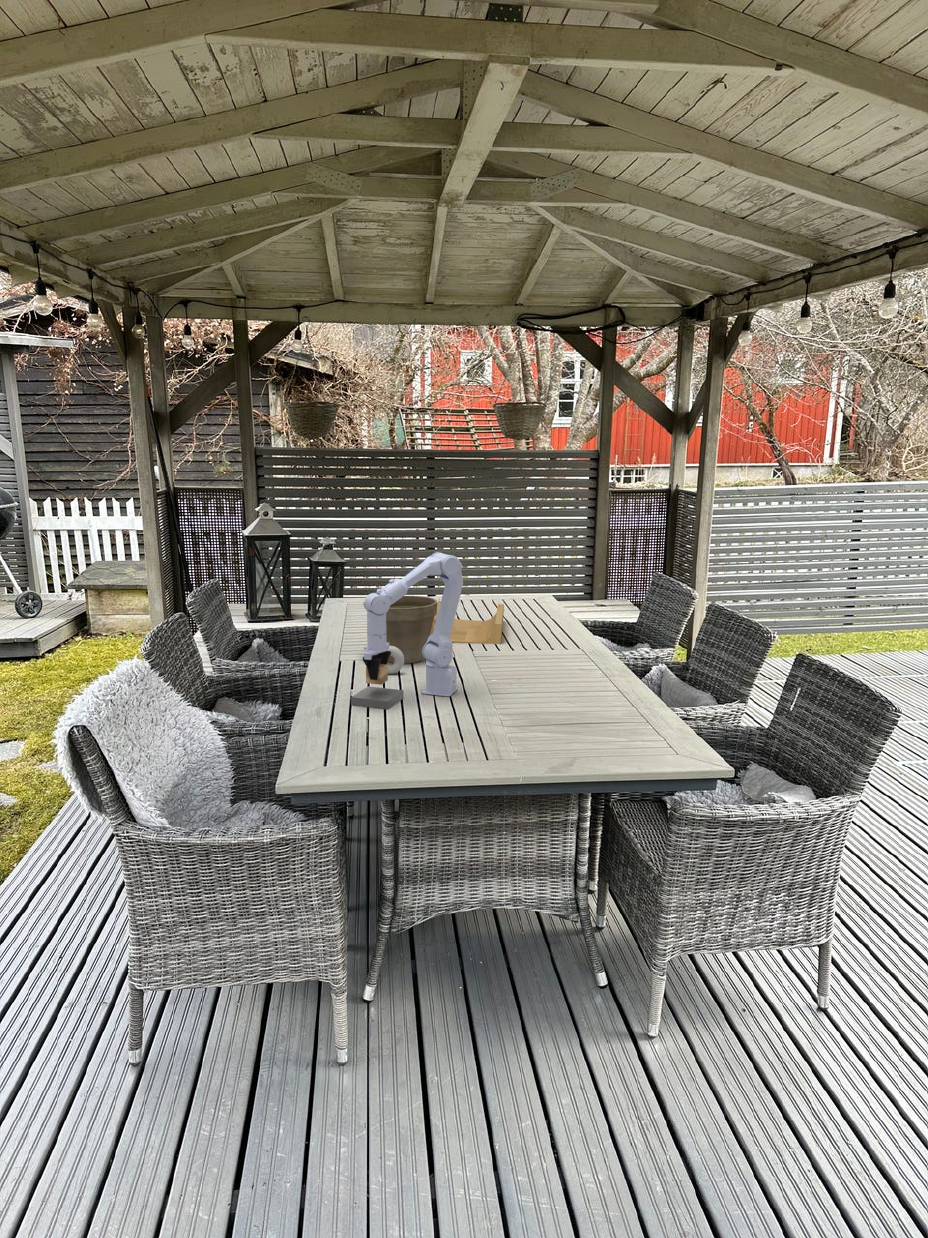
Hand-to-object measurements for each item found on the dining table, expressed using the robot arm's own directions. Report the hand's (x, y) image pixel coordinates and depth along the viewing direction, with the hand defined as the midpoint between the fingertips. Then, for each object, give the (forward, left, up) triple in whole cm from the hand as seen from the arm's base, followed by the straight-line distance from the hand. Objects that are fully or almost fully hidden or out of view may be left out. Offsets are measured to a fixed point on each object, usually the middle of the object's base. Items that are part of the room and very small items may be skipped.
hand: (377, 677), depth 240 cm
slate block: (0, 0, -8) cm, 8 cm away
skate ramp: (+4, -98, -8) cm, 98 cm away
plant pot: (+11, -49, -8) cm, 51 cm away
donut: (+8, -29, -8) cm, 31 cm away
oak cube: (0, 0, -2) cm, 2 cm away
